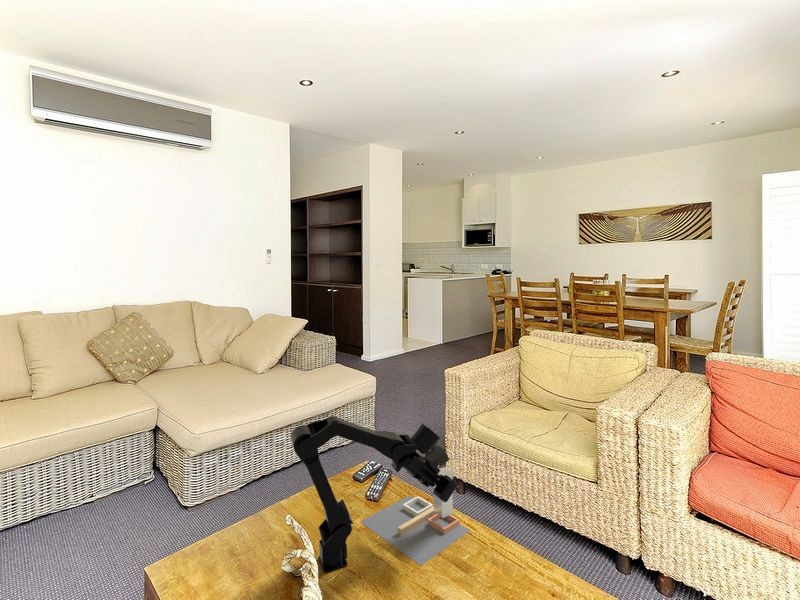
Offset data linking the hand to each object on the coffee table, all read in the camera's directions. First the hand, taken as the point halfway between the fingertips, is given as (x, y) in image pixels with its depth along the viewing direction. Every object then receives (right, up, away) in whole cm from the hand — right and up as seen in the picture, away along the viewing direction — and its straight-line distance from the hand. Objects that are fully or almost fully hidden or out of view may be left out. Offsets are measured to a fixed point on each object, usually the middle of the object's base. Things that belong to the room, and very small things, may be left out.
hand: (446, 490), depth 131 cm
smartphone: (-27, -11, +13) cm, 32 cm away
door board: (-10, -12, 0) cm, 15 cm away
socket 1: (-8, -9, +8) cm, 15 cm away
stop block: (-1, -7, 0) cm, 7 cm away
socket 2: (-1, -10, 0) cm, 10 cm away
